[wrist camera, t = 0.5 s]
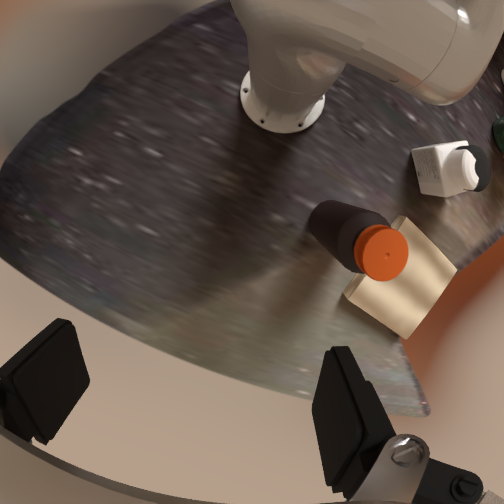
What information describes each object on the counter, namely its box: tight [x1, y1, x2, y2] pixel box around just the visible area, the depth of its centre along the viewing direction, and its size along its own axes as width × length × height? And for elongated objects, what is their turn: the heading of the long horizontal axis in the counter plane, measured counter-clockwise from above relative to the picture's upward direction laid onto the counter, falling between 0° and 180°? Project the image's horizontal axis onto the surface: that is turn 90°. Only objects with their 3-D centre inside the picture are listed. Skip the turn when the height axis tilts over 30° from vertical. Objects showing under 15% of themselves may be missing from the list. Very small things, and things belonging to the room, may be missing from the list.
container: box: [411, 141, 491, 197], centre depth 33 cm, size 8×8×13 cm
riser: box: [343, 215, 457, 339], centre depth 43 cm, size 16×16×3 cm
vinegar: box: [310, 200, 409, 282], centre depth 32 cm, size 7×7×20 cm
